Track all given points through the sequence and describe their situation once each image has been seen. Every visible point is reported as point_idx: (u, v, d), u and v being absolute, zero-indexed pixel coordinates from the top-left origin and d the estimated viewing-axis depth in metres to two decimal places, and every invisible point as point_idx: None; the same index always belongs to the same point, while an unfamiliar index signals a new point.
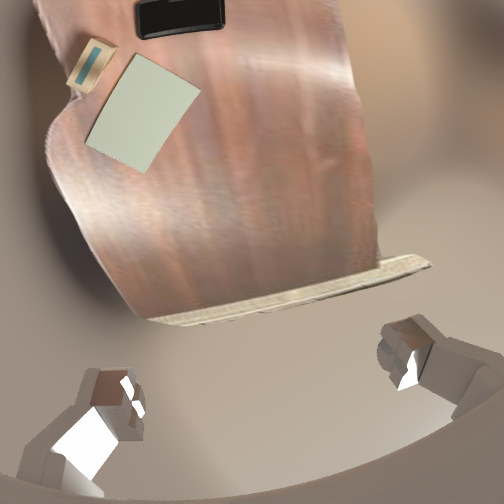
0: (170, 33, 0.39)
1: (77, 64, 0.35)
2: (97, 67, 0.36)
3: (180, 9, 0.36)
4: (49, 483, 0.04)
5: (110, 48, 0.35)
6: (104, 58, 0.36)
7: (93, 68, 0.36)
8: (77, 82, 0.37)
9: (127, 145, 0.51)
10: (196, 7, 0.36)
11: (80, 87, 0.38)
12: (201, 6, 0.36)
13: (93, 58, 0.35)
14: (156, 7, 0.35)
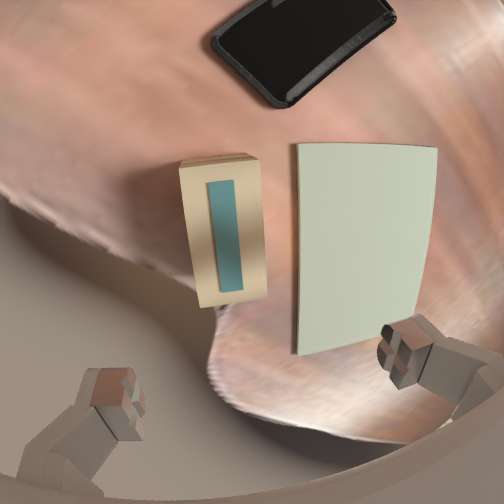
0: (331, 66, 0.18)
1: (194, 252, 0.18)
2: (255, 227, 0.18)
3: (308, 11, 0.16)
4: (49, 483, 0.04)
5: (255, 163, 0.16)
6: (258, 197, 0.17)
7: (246, 235, 0.18)
8: (227, 288, 0.19)
9: (372, 311, 0.28)
10: None
11: (242, 294, 0.19)
12: None
13: (227, 215, 0.17)
14: (259, 27, 0.16)
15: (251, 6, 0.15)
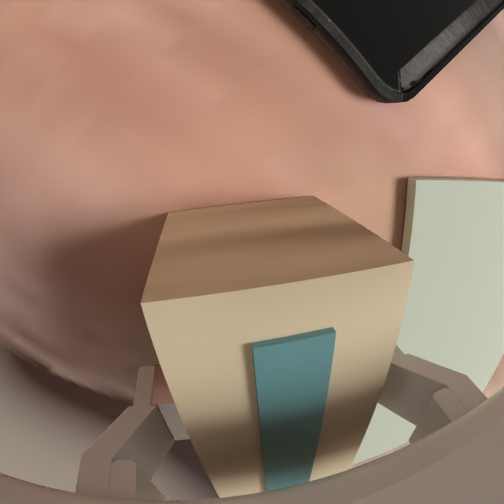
0: (460, 38, 0.07)
1: (212, 462, 0.06)
2: (359, 410, 0.06)
3: None
4: (119, 494, 0.04)
5: (400, 273, 0.05)
6: (384, 356, 0.05)
7: (335, 427, 0.06)
8: None
9: None
10: None
11: None
12: None
13: (298, 404, 0.06)
14: None
15: None
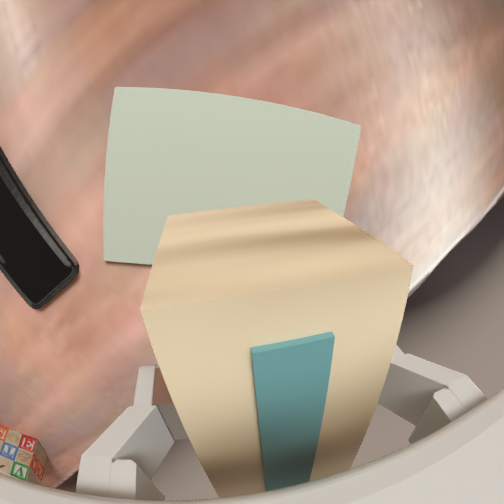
0: (40, 224, 0.20)
1: (212, 464, 0.06)
2: (357, 413, 0.06)
3: (3, 235, 0.20)
4: (119, 494, 0.04)
5: (399, 278, 0.05)
6: (383, 359, 0.05)
7: (334, 429, 0.06)
8: None
9: (309, 185, 0.24)
10: None
11: None
12: None
13: (297, 407, 0.06)
14: (21, 275, 0.21)
15: (8, 278, 0.21)
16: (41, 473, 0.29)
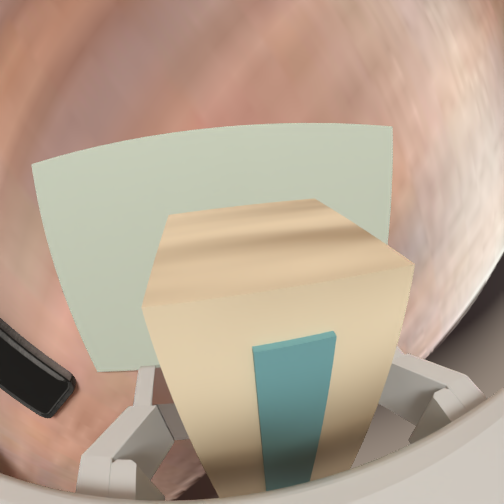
0: (16, 343, 0.15)
1: (213, 464, 0.06)
2: (359, 413, 0.06)
3: None
4: (119, 494, 0.04)
5: (401, 277, 0.05)
6: (385, 359, 0.05)
7: (335, 429, 0.06)
8: (277, 487, 0.07)
9: None
10: None
11: None
12: None
13: (298, 407, 0.06)
14: (20, 390, 0.17)
15: (9, 393, 0.17)
16: None
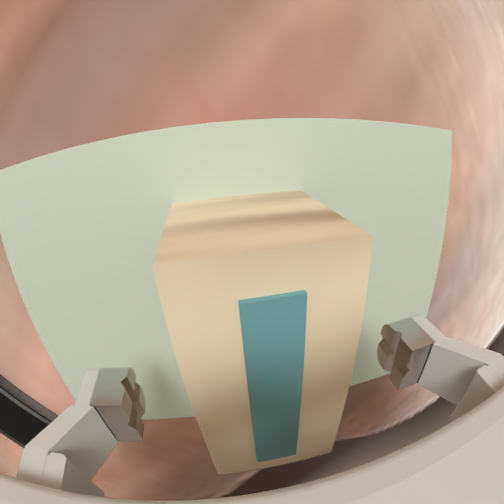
0: None
1: (207, 422, 0.07)
2: (336, 375, 0.08)
3: None
4: (49, 483, 0.04)
5: (361, 247, 0.06)
6: (354, 321, 0.07)
7: (316, 390, 0.08)
8: (266, 453, 0.09)
9: (384, 260, 0.12)
10: None
11: (292, 456, 0.09)
12: None
13: (280, 362, 0.07)
14: (6, 427, 0.13)
15: None
16: None
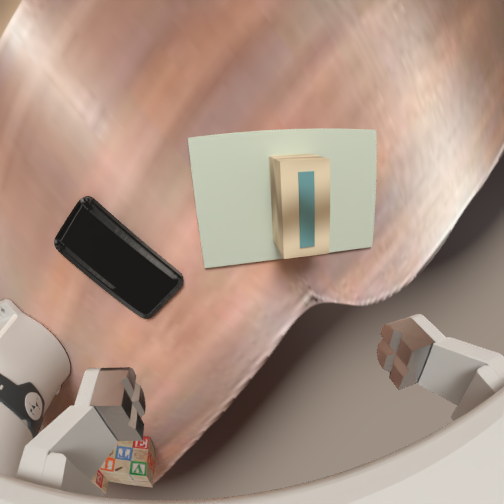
0: (146, 251, 0.31)
1: (285, 218, 0.26)
2: (325, 203, 0.26)
3: (110, 267, 0.31)
4: (49, 483, 0.04)
5: (327, 161, 0.25)
6: (327, 183, 0.25)
7: (319, 208, 0.26)
8: (303, 244, 0.28)
9: (347, 183, 0.31)
10: (93, 252, 0.30)
11: (313, 250, 0.28)
12: (86, 248, 0.30)
13: (308, 194, 0.26)
14: (132, 294, 0.33)
15: (119, 299, 0.33)
16: (153, 467, 0.44)
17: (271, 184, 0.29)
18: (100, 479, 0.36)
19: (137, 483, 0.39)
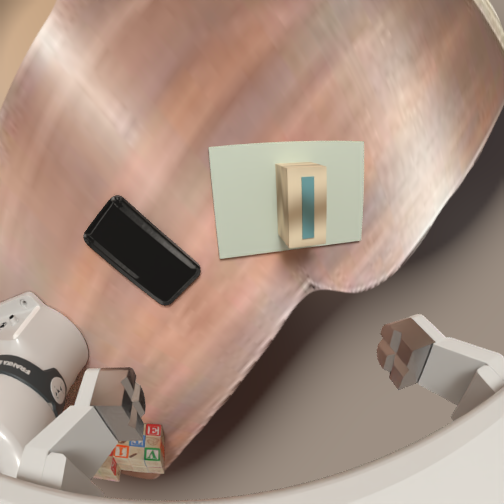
0: (169, 244, 0.36)
1: (290, 214, 0.32)
2: (322, 202, 0.32)
3: (136, 258, 0.36)
4: (49, 483, 0.04)
5: (324, 168, 0.31)
6: (324, 186, 0.32)
7: (317, 206, 0.33)
8: (305, 236, 0.34)
9: (339, 186, 0.37)
10: (120, 245, 0.35)
11: (313, 240, 0.34)
12: (114, 241, 0.35)
13: (309, 194, 0.32)
14: (154, 283, 0.38)
15: (141, 288, 0.38)
16: (163, 454, 0.48)
17: (277, 187, 0.35)
18: (114, 467, 0.39)
19: (149, 470, 0.43)
